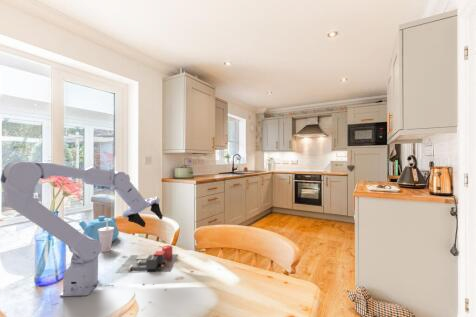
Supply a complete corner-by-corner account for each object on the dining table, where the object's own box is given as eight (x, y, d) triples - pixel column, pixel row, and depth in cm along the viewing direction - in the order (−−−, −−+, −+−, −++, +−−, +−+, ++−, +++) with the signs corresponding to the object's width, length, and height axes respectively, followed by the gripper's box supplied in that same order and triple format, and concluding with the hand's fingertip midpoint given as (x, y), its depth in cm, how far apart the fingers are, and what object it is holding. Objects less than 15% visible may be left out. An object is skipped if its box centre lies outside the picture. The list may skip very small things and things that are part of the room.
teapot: (98, 250, 102) (98, 222, 102) (61, 247, 106) (61, 219, 106) (128, 236, 121) (128, 212, 121) (95, 234, 125) (96, 210, 125)
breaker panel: (170, 274, 81) (170, 268, 81) (114, 276, 79) (114, 270, 79) (178, 257, 96) (178, 251, 96) (131, 258, 94) (131, 252, 94)
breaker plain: (155, 269, 81) (155, 259, 81) (146, 269, 81) (146, 259, 81) (157, 264, 84) (158, 255, 84) (149, 265, 84) (149, 256, 84)
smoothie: (117, 248, 105) (117, 217, 105) (107, 253, 99) (108, 221, 99) (103, 247, 106) (104, 217, 106) (93, 252, 99) (94, 220, 99)
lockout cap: (171, 259, 91) (171, 248, 91) (160, 259, 91) (160, 249, 91) (173, 254, 95) (173, 245, 95) (163, 255, 95) (163, 245, 95)
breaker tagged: (162, 263, 85) (162, 254, 85) (153, 264, 85) (154, 254, 85) (164, 260, 88) (164, 251, 88) (156, 260, 88) (156, 251, 88)
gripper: (151, 183, 89) (170, 207, 95) (118, 199, 89) (138, 221, 96) (149, 194, 83) (168, 219, 89) (113, 211, 83) (135, 234, 90)
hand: (153, 221), depth 92 cm, fingers open, 7 cm apart
